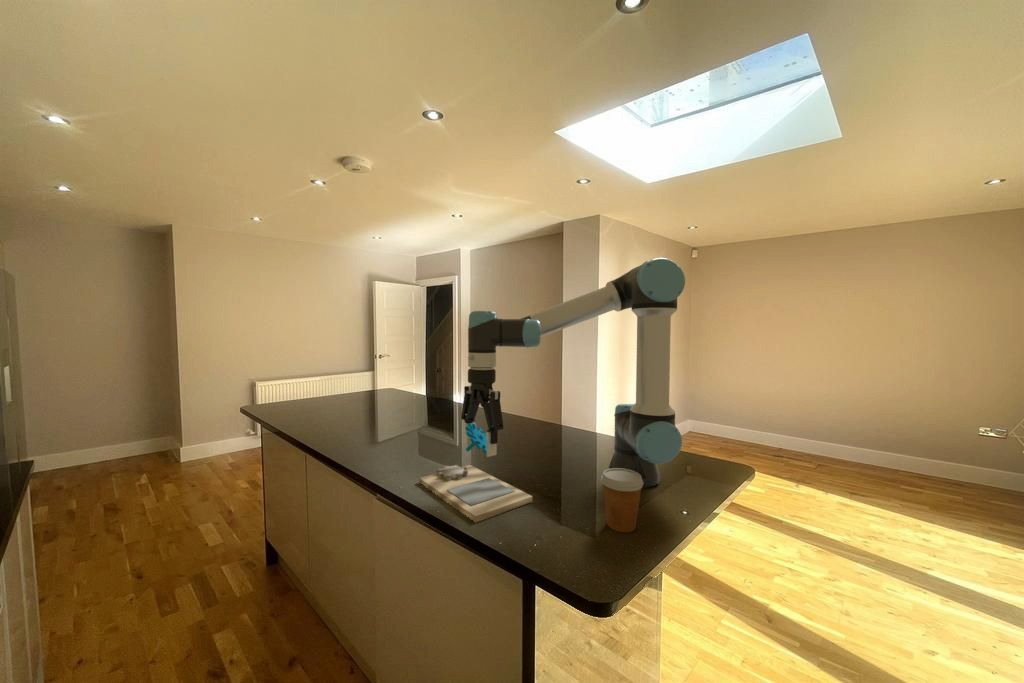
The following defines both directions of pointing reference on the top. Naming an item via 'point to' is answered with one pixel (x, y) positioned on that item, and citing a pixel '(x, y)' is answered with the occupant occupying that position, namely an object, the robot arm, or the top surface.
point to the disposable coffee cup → (621, 498)
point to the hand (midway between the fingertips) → (480, 450)
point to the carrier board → (474, 491)
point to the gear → (476, 438)
